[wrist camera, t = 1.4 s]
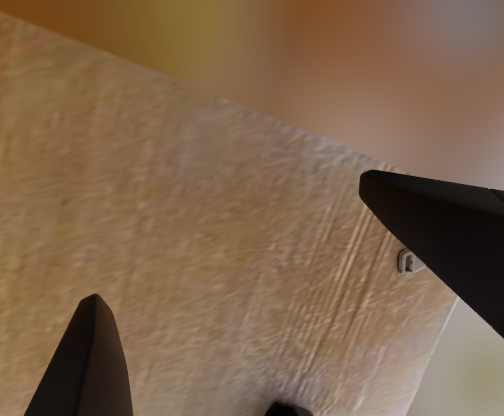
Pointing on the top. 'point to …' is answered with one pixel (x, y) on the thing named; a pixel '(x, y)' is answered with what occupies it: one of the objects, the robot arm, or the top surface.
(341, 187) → the top surface
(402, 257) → the strap clip
